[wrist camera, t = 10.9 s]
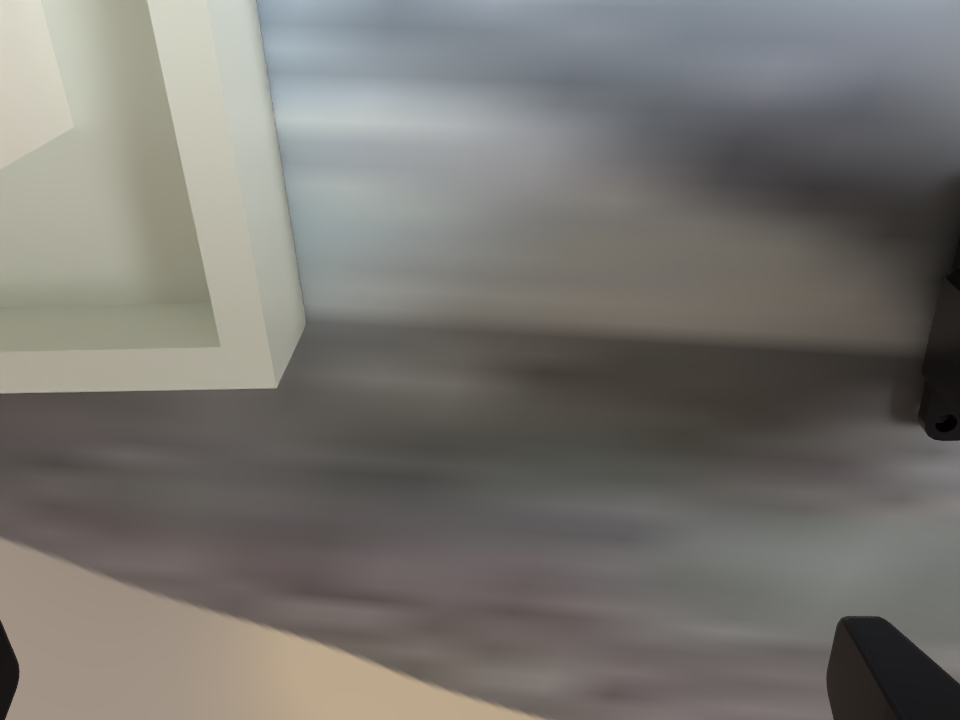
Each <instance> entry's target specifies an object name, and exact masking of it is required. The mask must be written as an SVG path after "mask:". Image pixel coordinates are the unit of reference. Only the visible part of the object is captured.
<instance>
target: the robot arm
mask: <svg viewBox="0 0 960 720" xmlns="http://www.w3.org/2000/svg"><path fill="white" fill-rule="evenodd" d="M922 374H923V375H924V376H925V378H926V379H927V380H926V384H925V389H924V393H923V397H922V401H921V406H920V410H919V414H918V422H919V423H920V425H921V427H922V428H923V429H924V431H925V432H926V434H927V435H928V436H929V437H931V438H932V439H934V440H941V441H957V440H960V240H959V244H958V249H957V253H956V257H955V261H954V266H953V269H952V270H951V271H950V272H949V273H948V274H947V275H946V276H945V277H944V278H943V280H942V284H941V289H940V293H939V297H938V301H937V306H936V310H935V314H934V319H933V323H932V327H931V332H930V336H929V340H928V345H927V349H926V353H925V358H924V362H923V366H922ZM948 414H950V416H949V417H948V419H947V420H945V421H944V422H941V423H936V421H937V420H938V419H939V418H940V417H942V416H943V415H948ZM826 680H827V691H828V697H829V701H830V706H831V710H832V714H833V719H834V720H960V684H959V683H958V682H957V681H956V680H954V679H953V678H952V677H951V676H950V675H949V674H948V673H946V672H945V671H944V670H943V669H942V668H941V667H940V666H938V665H937V664H936V663H935V662H934V661H933V660H932V659H930V658H929V657H928V656H927V655H926V654H925V653H924V652H923V651H921V650H920V649H919V648H918V647H917V646H916V645H915V644H913V643H912V642H911V641H910V640H909V639H908V638H907V637H905V636H904V635H903V634H902V633H901V632H900V631H899V630H897V629H896V628H895V627H894V626H893V625H892V624H891V623H889V622H888V621H887V620H885V619H883V618H881V617H877V616H846V617H843V618H841V619H840V621H839V622H838V624H837V627H836V631H835V636H834V641H833V645H832V650H831V654H830V659H829V664H828V668H827V678H826ZM18 681H19V664H18V661H17V658H16V656H15V654H14V651H13V649H12V647H11V644H10V642H9V639H8V637H7V635H6V632H5V630H4V627H3V625H2V623H1V621H0V720H5V718H6V715H7V713H8V710H9V707H10V705H11V702H12V699H13V697H14V694H15V692H16V689H17V685H18Z"/></svg>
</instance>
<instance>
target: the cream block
mask: <svg viewBox="0 0 960 720" xmlns="http://www.w3.org/2000/svg"><path fill="white" fill-rule="evenodd" d="M73 127H74V126H73V122H72V118H71V114H70V110H69V106H68V103H67V99H66V95H65V91H64V87H63V83H62V80H61V76H60V72H59V68H58V64H57V61H56V57H55V53H54V49H53V45H52V41H51V38H50V34H49V30H48V26H47V22H46V18H45V15H44V11H43V7H42V3H41V0H0V169H2V168H4V167H6V166H7V165H9V164H11V163H13V162H14V161H16V160H18V159H20V158H21V157H23V156H25V155H27V154H28V153H30V152H32V151H33V150H35V149H37V148H39V147H40V146H42V145H44V144H46V143H47V142H49V141H51V140H53V139H54V138H56V137H58V136H60V135H61V134H63V133H65V132H67V131H68V130H70V129H72V128H73Z"/></svg>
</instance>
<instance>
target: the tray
mask: <svg viewBox="0 0 960 720" xmlns="http://www.w3.org/2000/svg"><path fill="white" fill-rule="evenodd" d="M41 3H42V7H43V11H44V15H45V18H46V22H47V26H48V30H49V34H50V38H51V41H52V45H53V49H54V53H55V57H56V61H57V64H58V68H59V72H60V76H61V80H62V83H63V87H64V91H65V95H66V99H67V103H68V106H69V110H70V114H71V118H72V122H73V126H74V127H73V128H72V129H70V130H68V131H67V132H65V133H63V134H61V135H60V136H58V137H56V138H54V139H53V140H51V141H49V142H47V143H46V144H44V145H42V146H40V147H39V148H37V149H35V150H33V151H32V152H30V153H28V154H27V155H25V156H23V157H21V158H20V159H18V160H16V161H14V162H13V163H11V164H9V165H7V166H6V167H4V168H2V169H0V393H47V392H100V391H154V390H208V389H261V388H277V386H278V384H279V382H280V380H281V378H282V376H283V373H284V371H285V369H286V367H287V365H288V363H289V361H290V358H291V356H292V354H293V352H294V350H295V348H296V346H297V343H298V341H299V339H300V337H301V335H302V333H303V331H304V328H305V326H306V324H307V322H306V316H305V310H304V303H303V297H302V291H301V284H300V278H299V271H298V265H297V259H296V252H295V246H294V240H293V233H292V227H291V220H290V214H289V208H288V201H287V195H286V188H285V182H284V176H283V169H282V163H281V157H280V150H279V144H278V137H277V131H276V125H275V118H274V112H273V105H272V99H271V93H270V86H269V80H268V74H267V67H266V61H265V54H264V48H263V42H262V35H261V29H260V22H259V16H258V10H257V3H256V0H41Z"/></svg>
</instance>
